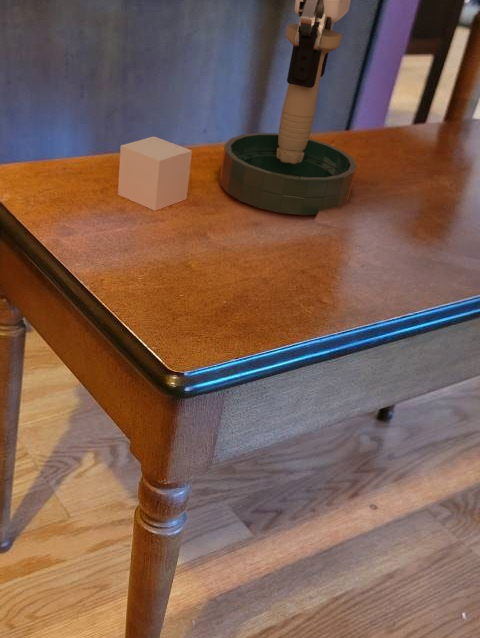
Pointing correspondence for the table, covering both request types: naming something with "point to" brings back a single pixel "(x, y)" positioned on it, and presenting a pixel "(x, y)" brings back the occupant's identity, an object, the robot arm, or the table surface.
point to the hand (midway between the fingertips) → (305, 78)
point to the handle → (301, 104)
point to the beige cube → (154, 172)
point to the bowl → (286, 175)
